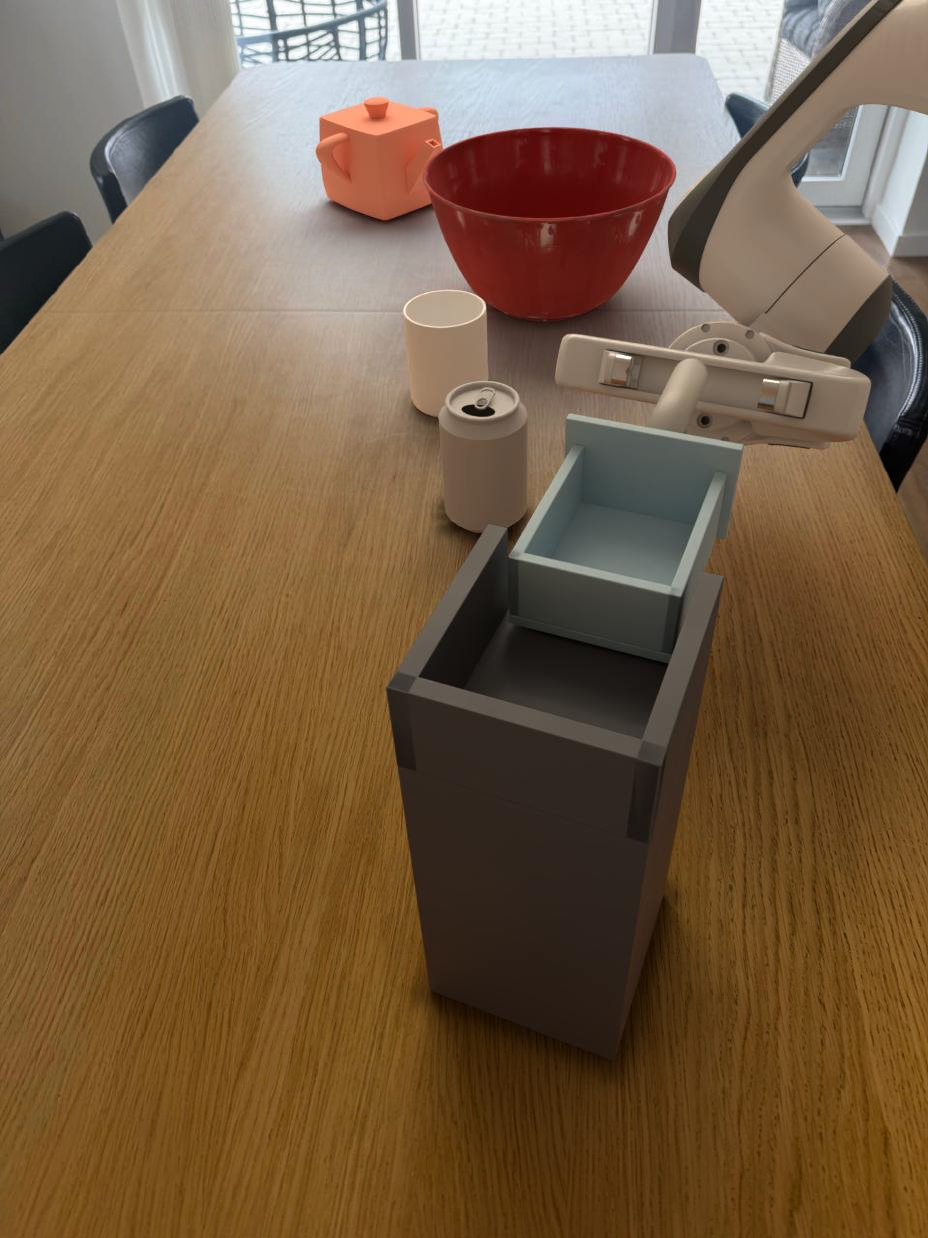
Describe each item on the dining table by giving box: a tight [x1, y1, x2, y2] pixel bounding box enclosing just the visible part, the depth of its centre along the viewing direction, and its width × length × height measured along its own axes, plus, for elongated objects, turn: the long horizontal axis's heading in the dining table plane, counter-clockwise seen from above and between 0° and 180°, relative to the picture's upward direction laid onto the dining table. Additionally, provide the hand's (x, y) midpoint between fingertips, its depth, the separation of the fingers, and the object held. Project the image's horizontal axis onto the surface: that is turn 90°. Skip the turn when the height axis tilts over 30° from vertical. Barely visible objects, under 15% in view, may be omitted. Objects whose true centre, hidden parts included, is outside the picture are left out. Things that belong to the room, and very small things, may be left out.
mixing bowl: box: [423, 126, 677, 323], centre depth 114 cm, size 28×28×16 cm
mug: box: [402, 289, 489, 418], centre depth 100 cm, size 12×8×10 cm
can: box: [438, 380, 529, 534], centre depth 84 cm, size 8×8×12 cm
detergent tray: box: [508, 358, 745, 664], centre depth 50 cm, size 9×20×6 cm, turn 157°
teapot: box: [315, 96, 444, 221], centre depth 138 cm, size 20×22×14 cm
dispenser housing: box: [385, 524, 725, 1062], centre depth 49 cm, size 11×11×26 cm
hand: (692, 381), depth 58 cm, fingers open, 8 cm apart
